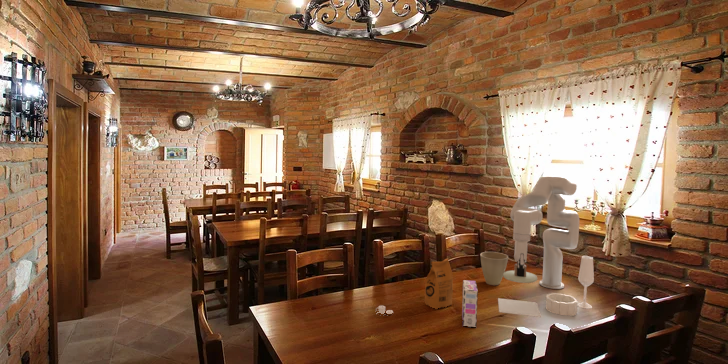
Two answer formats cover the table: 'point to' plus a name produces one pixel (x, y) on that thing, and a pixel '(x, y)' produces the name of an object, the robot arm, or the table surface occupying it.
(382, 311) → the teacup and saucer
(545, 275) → the robot arm
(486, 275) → the plant pot
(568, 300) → the bowl
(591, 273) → the champagne flute
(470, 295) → the candy box
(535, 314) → the mat
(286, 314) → the table surface
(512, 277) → the lid
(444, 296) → the coffee package
